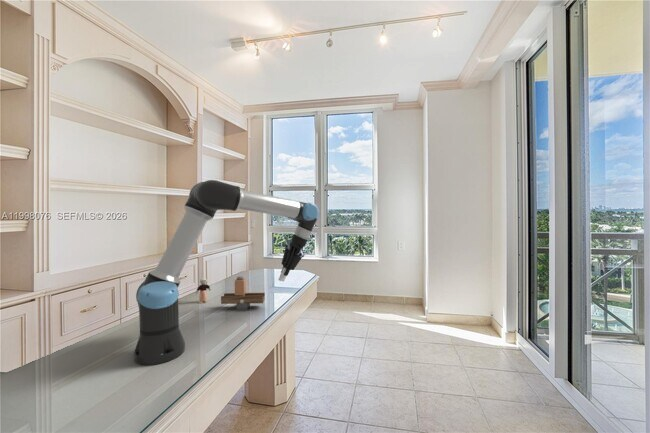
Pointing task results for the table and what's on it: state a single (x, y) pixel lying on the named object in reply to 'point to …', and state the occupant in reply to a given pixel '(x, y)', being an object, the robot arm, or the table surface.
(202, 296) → the grandmother figurine
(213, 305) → the table surface
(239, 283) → the rider
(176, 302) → the robot arm
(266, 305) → the table surface
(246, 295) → the beam
